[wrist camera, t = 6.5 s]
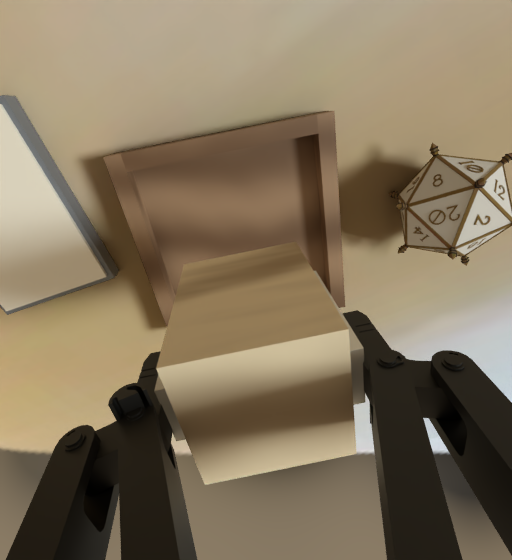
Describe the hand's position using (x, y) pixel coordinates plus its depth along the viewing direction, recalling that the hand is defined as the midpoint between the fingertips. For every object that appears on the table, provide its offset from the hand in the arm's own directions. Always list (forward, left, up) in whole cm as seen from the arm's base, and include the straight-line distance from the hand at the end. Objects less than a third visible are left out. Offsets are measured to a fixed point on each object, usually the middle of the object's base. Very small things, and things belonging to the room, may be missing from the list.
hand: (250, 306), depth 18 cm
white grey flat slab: (-5, -17, -12) cm, 21 cm away
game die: (0, +16, -12) cm, 20 cm away
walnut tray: (0, 0, -12) cm, 12 cm away
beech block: (0, 0, -1) cm, 1 cm away
